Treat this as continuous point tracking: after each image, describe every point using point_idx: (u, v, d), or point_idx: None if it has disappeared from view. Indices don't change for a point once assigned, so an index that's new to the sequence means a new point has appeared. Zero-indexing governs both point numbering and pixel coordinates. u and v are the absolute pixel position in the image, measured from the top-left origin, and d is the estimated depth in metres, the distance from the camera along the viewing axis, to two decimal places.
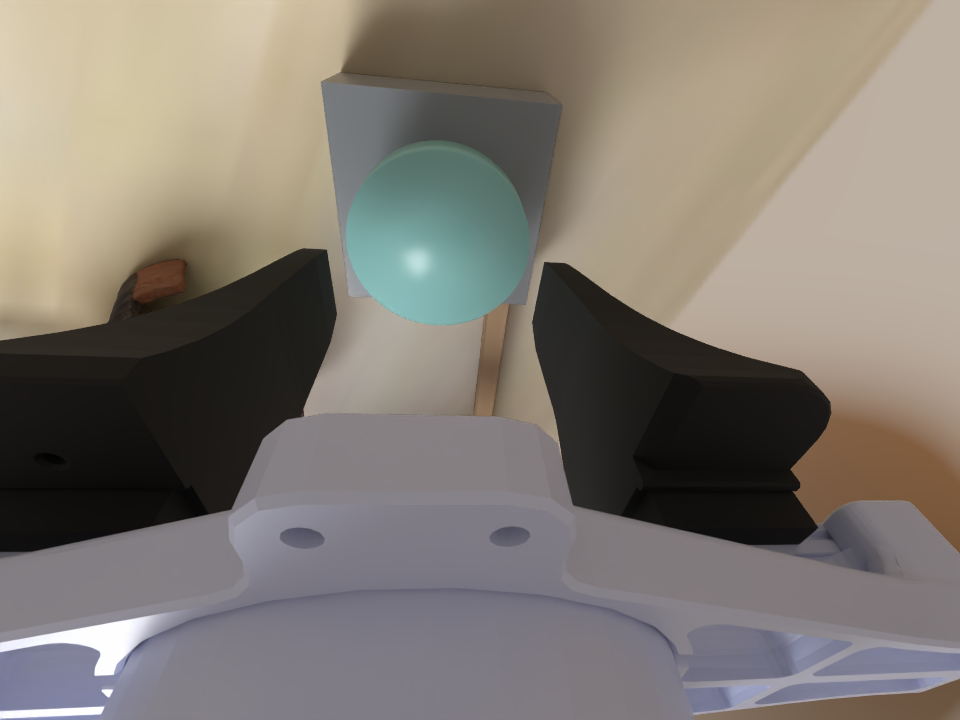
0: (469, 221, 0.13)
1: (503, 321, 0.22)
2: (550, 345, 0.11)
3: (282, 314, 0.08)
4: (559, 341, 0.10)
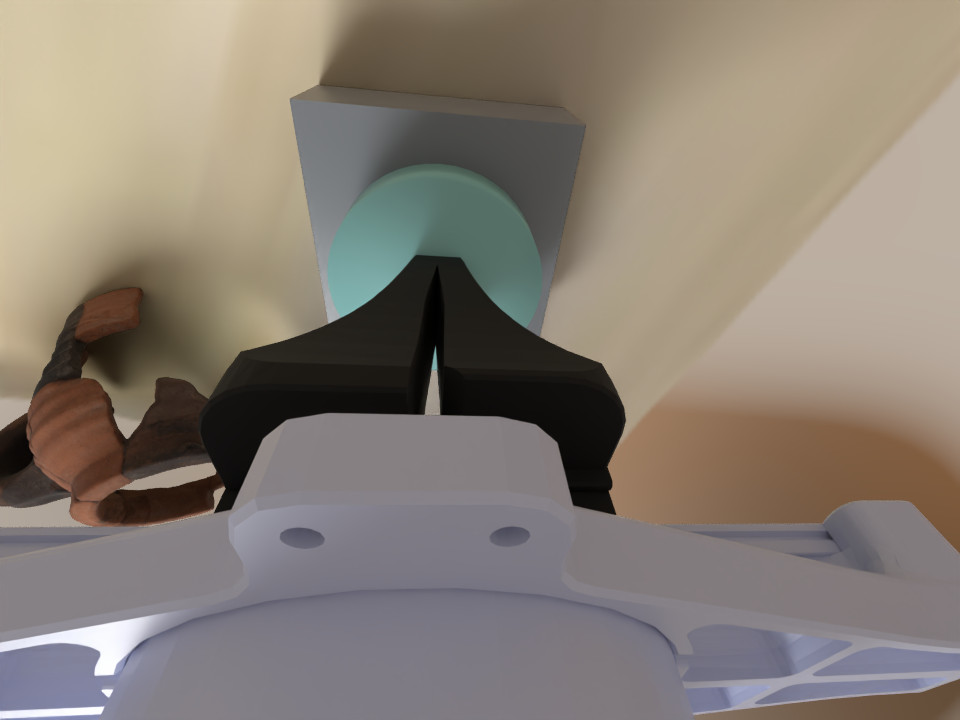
0: (472, 258, 0.11)
1: None
2: (438, 341, 0.11)
3: (426, 320, 0.09)
4: (440, 336, 0.10)
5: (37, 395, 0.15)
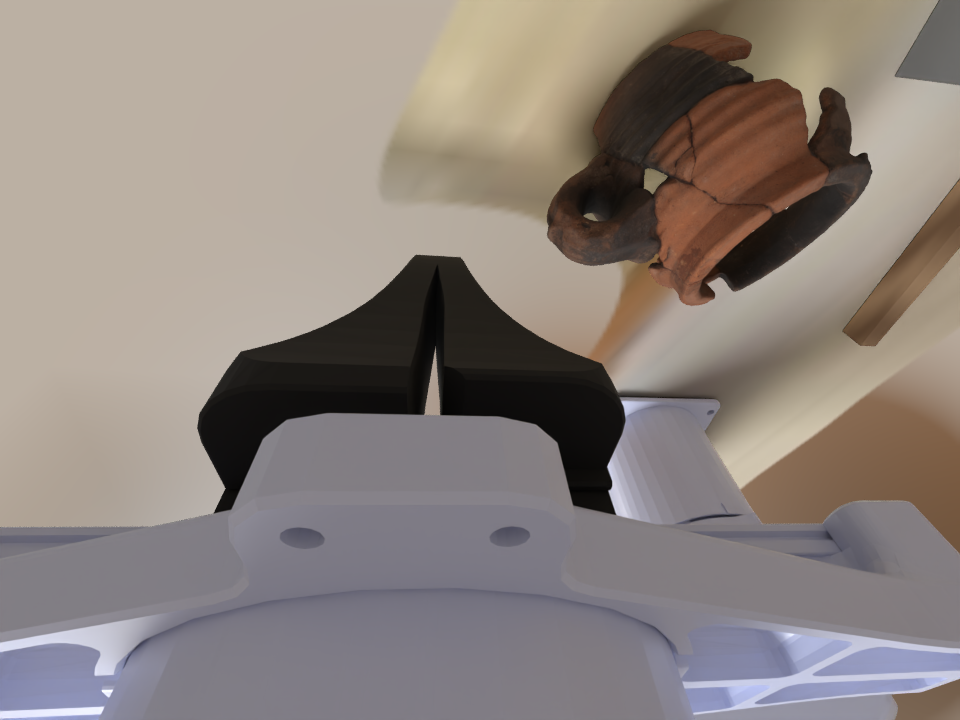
0: None
1: None
2: (438, 341, 0.11)
3: (426, 320, 0.09)
4: (440, 336, 0.10)
5: (710, 101, 0.14)
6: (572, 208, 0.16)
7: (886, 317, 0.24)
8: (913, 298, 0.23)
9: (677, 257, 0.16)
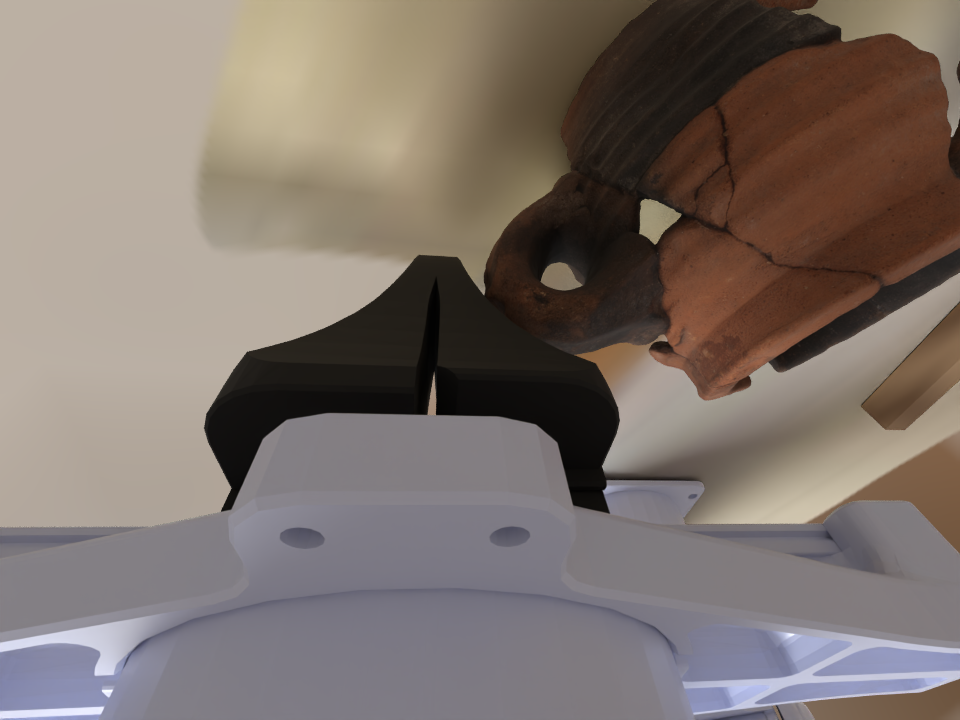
0: None
1: None
2: (435, 341, 0.11)
3: (429, 320, 0.09)
4: (436, 336, 0.10)
5: (760, 79, 0.07)
6: (520, 266, 0.10)
7: (922, 398, 0.18)
8: None
9: (697, 343, 0.10)
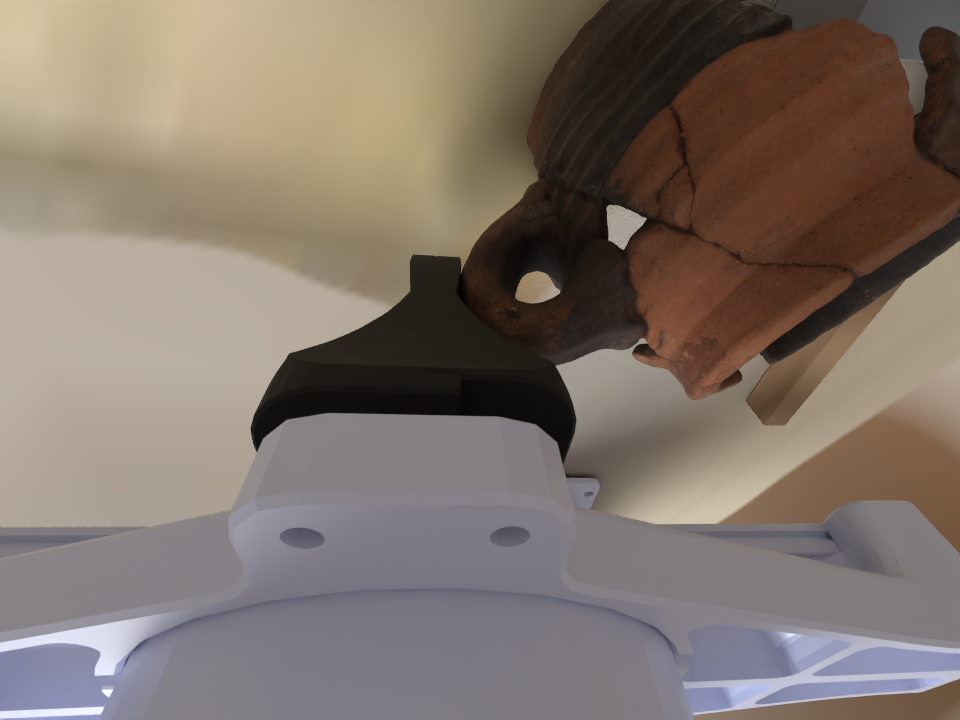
0: None
1: None
2: None
3: None
4: None
5: (712, 76, 0.07)
6: (490, 281, 0.09)
7: (793, 391, 0.17)
8: (827, 368, 0.17)
9: (677, 345, 0.10)
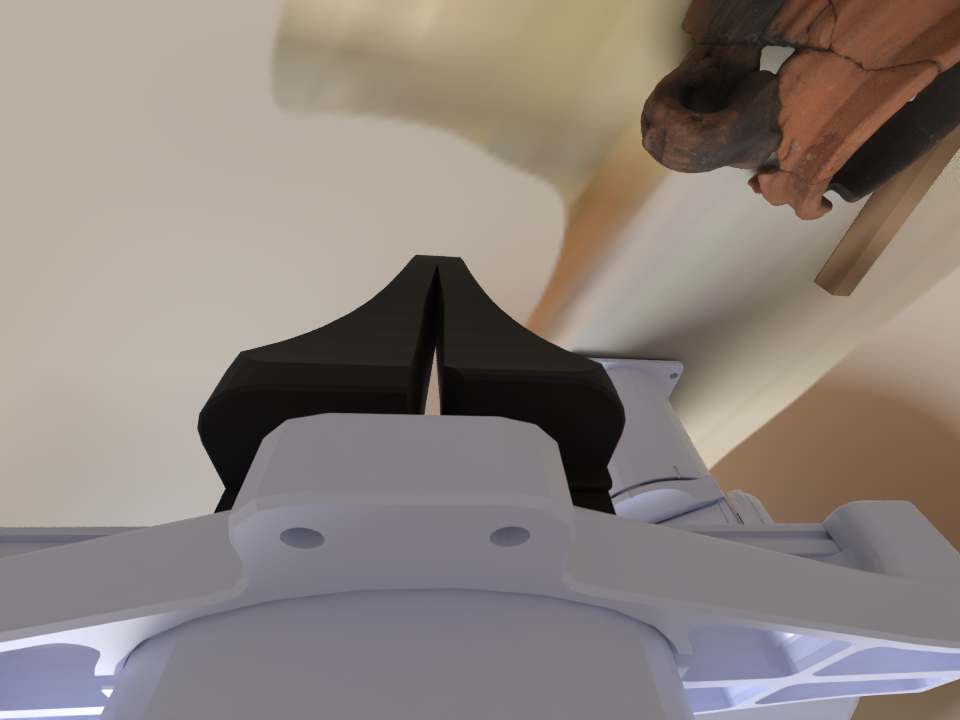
0: None
1: None
2: (438, 341, 0.11)
3: (426, 320, 0.09)
4: (440, 336, 0.10)
5: None
6: (676, 103, 0.14)
7: (860, 261, 0.22)
8: (889, 237, 0.21)
9: (801, 151, 0.14)
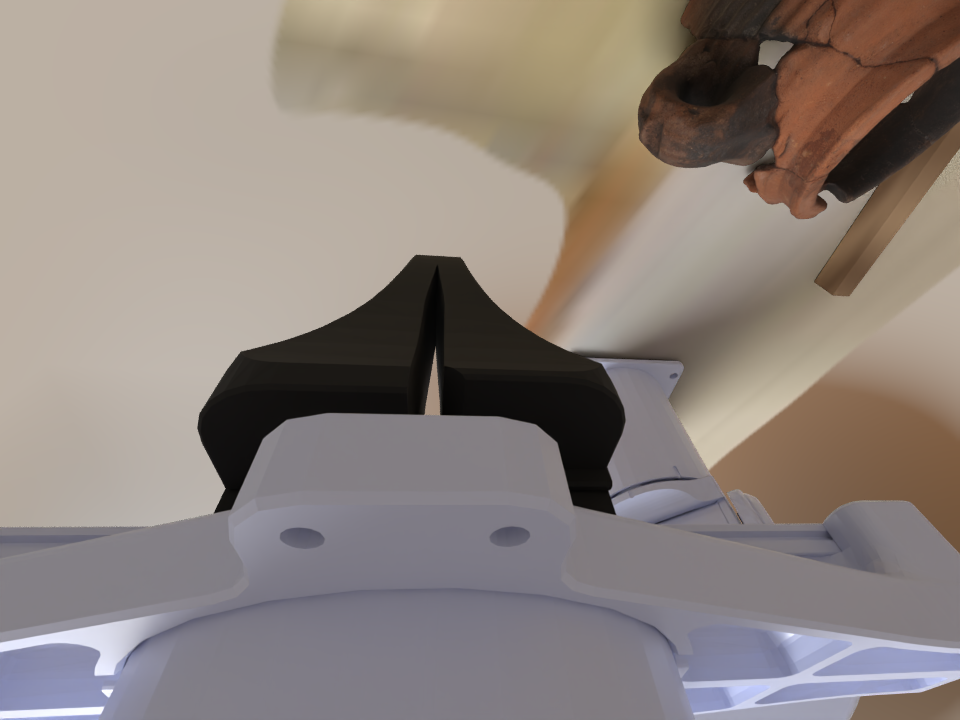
0: None
1: None
2: (438, 341, 0.11)
3: (426, 320, 0.09)
4: (440, 336, 0.10)
5: None
6: (673, 96, 0.14)
7: (860, 261, 0.22)
8: (889, 237, 0.21)
9: (798, 148, 0.14)
